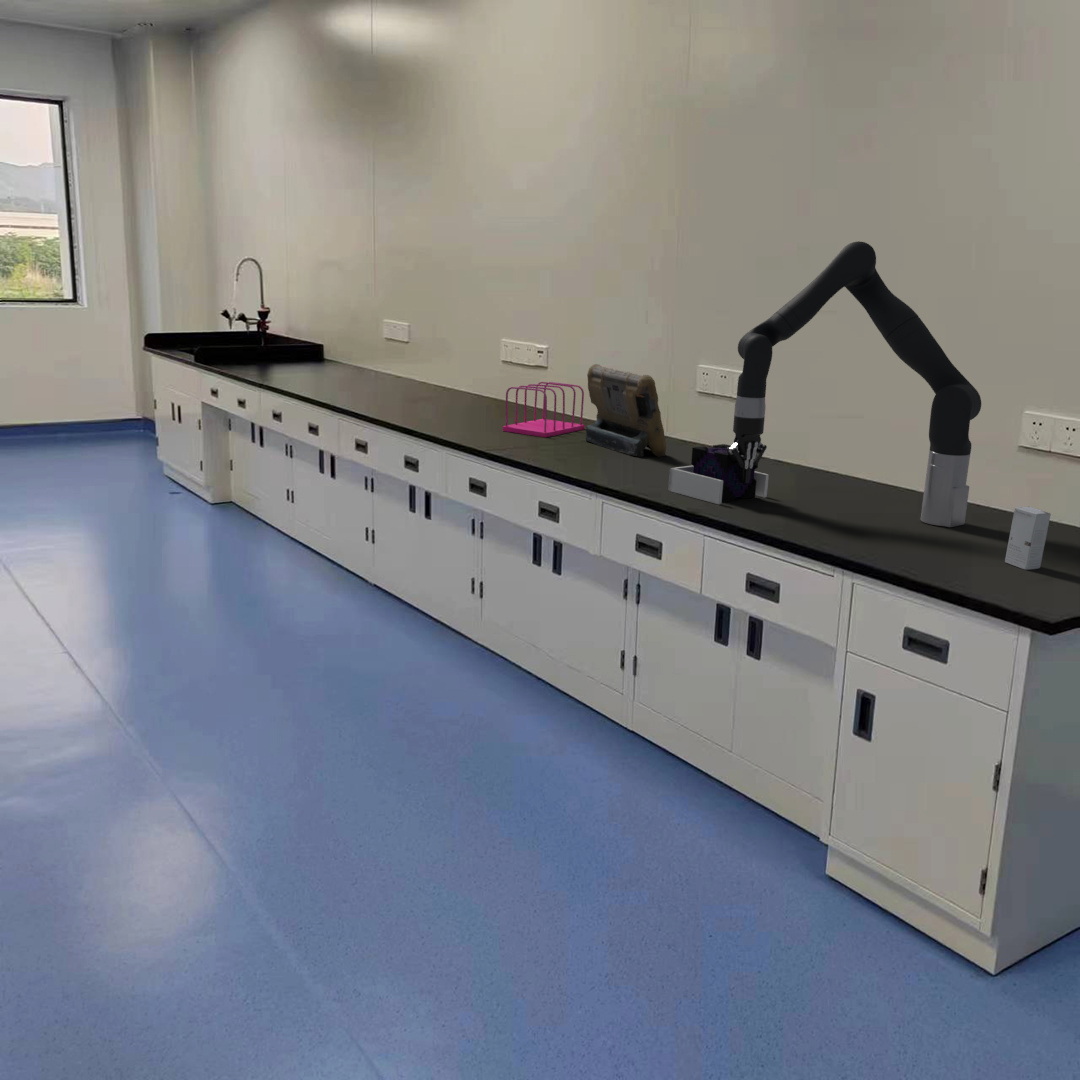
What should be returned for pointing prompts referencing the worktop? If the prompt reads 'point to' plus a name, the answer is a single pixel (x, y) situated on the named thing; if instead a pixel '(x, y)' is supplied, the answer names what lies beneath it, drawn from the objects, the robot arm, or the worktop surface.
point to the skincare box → (1027, 537)
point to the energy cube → (722, 471)
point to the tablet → (625, 412)
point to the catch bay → (706, 484)
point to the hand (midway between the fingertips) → (744, 482)
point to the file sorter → (544, 414)
